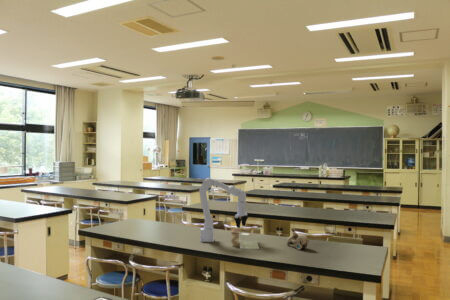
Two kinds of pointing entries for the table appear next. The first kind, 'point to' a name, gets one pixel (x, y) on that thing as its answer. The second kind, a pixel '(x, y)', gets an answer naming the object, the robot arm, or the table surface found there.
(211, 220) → the robot arm
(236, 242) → the wooden block
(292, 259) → the table surface
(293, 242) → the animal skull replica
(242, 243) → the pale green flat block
